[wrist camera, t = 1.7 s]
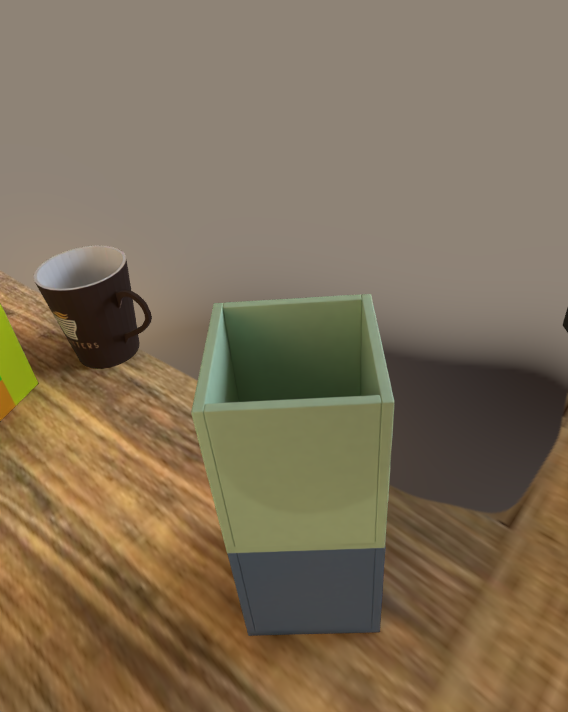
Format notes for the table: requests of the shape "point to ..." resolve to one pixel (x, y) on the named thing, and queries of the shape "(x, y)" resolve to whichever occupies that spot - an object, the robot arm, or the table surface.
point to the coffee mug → (93, 303)
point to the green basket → (296, 424)
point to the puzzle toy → (12, 369)
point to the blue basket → (310, 590)
